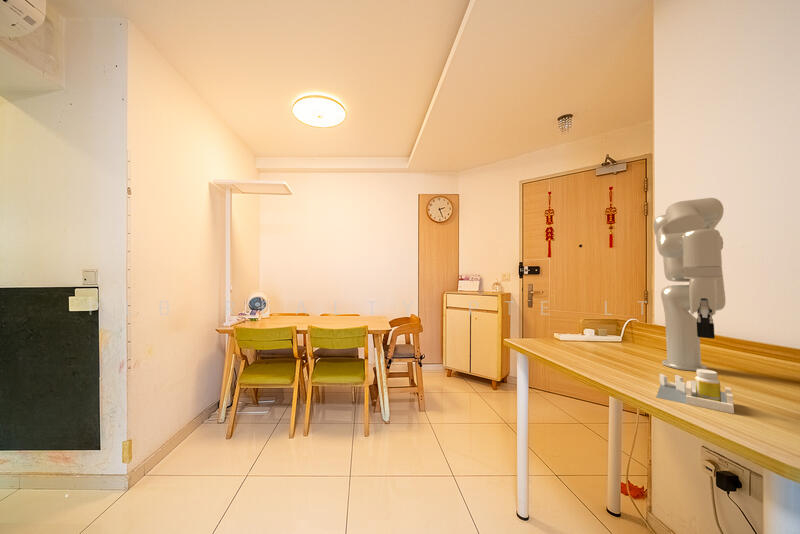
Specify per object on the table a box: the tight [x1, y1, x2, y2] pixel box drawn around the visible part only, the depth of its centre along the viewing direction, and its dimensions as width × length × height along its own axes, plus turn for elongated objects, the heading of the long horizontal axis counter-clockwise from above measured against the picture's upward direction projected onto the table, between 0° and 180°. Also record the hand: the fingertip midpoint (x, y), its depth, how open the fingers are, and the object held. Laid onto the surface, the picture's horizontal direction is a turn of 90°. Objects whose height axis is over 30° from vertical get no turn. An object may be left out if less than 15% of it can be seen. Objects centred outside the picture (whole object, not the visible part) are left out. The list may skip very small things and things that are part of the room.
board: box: [655, 383, 733, 415], centre depth 85 cm, size 18×14×1 cm
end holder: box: [685, 380, 735, 414], centre depth 80 cm, size 9×8×4 cm
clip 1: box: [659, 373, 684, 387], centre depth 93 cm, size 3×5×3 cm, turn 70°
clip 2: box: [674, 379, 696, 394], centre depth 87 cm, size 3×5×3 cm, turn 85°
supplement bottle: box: [694, 369, 722, 402], centre depth 80 cm, size 5×5×8 cm
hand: (705, 334), depth 82 cm, fingers open, 9 cm apart
